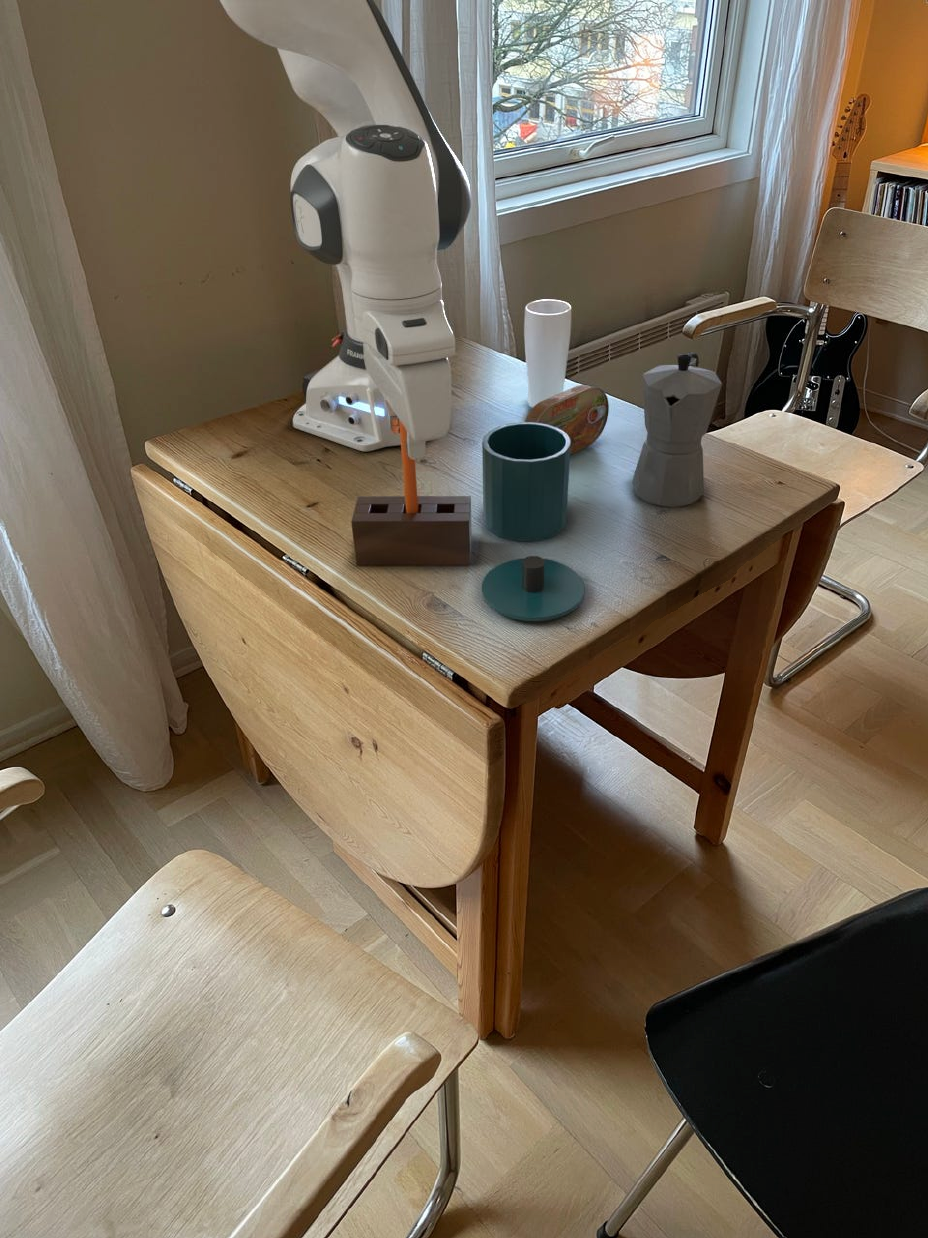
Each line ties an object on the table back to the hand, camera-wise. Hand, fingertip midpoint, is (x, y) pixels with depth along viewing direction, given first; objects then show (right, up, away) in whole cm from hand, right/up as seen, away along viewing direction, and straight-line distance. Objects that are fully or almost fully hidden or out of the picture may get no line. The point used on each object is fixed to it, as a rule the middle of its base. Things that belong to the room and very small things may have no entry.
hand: (407, 443), depth 96 cm
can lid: (+14, -16, +1) cm, 21 cm away
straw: (0, -11, +9) cm, 14 cm away
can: (+14, -7, +14) cm, 21 cm away
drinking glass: (+19, +14, +40) cm, 46 cm away
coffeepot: (+33, -2, +20) cm, 38 cm away
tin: (+20, +4, +28) cm, 35 cm away
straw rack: (0, -11, +9) cm, 14 cm away
